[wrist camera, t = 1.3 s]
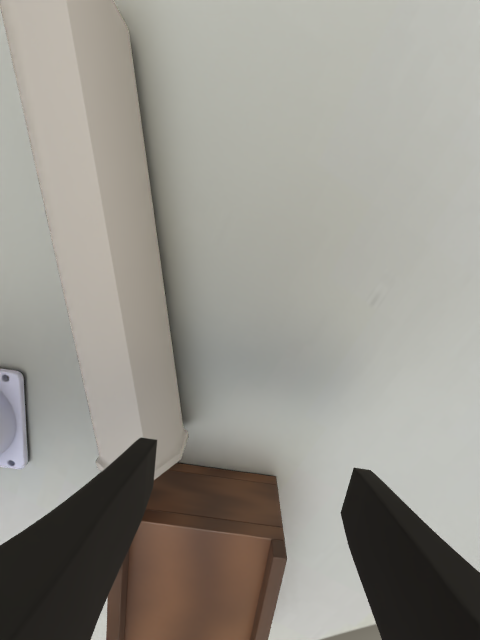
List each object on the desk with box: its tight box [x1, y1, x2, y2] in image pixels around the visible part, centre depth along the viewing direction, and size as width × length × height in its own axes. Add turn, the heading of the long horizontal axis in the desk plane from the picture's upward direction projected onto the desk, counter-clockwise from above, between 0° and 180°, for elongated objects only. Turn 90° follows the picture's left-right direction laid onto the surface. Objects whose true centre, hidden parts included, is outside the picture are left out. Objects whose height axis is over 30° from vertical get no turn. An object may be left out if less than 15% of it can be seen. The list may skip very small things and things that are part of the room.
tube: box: [0, 0, 188, 480], centre depth 15 cm, size 5×5×25 cm
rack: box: [106, 463, 287, 640], centre depth 20 cm, size 10×16×6 cm, turn 172°
